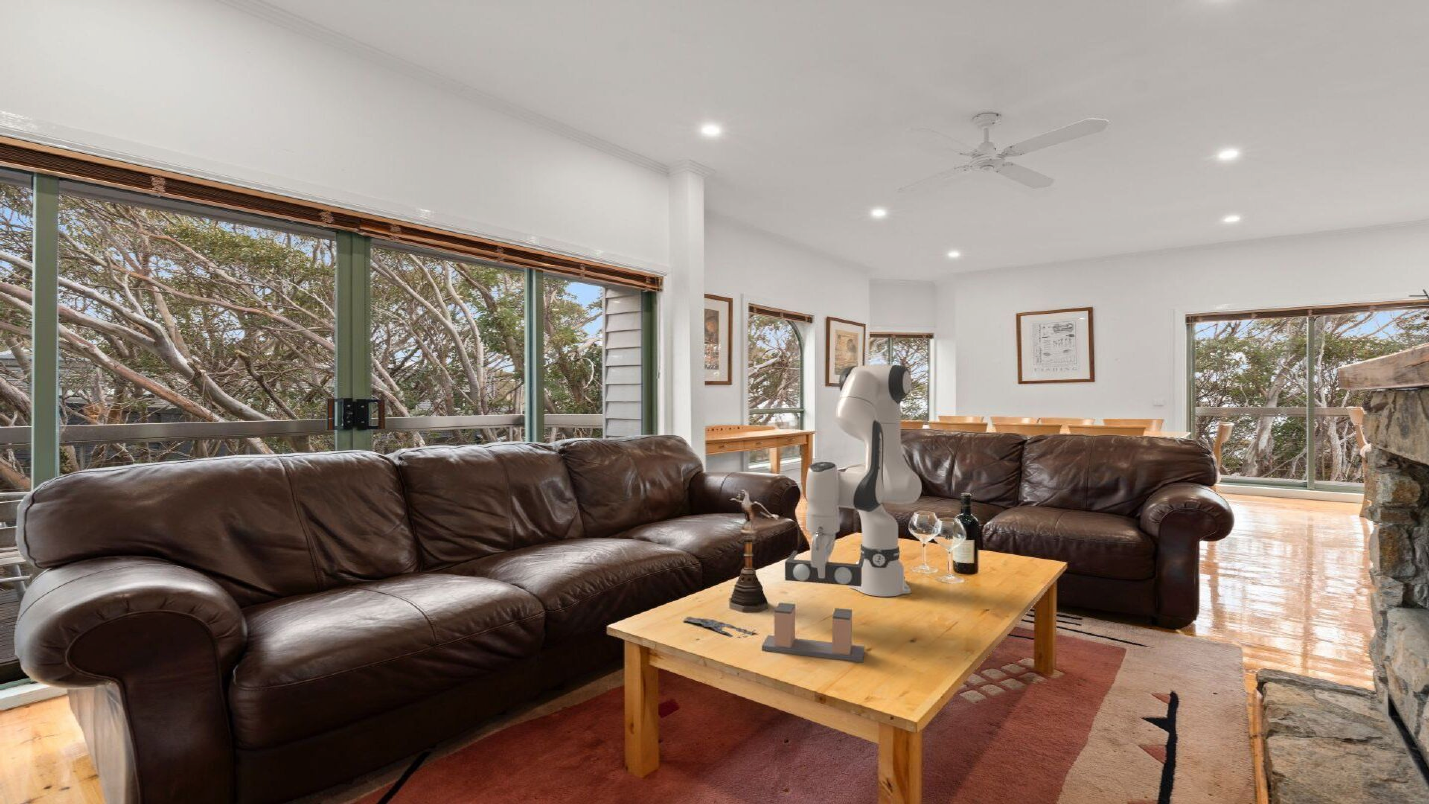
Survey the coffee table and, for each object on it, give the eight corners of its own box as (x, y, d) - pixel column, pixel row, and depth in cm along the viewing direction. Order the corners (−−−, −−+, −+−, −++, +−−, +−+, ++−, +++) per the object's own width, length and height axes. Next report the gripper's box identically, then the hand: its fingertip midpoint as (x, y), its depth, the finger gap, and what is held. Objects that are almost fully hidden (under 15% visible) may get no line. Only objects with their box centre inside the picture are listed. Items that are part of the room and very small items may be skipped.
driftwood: (679, 623, 180) (679, 615, 180) (696, 616, 185) (696, 609, 185) (739, 644, 166) (739, 635, 166) (756, 636, 171) (756, 628, 171)
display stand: (768, 639, 167) (768, 600, 166) (864, 651, 159) (864, 610, 159) (761, 650, 160) (761, 609, 160) (862, 662, 153) (862, 620, 153)
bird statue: (751, 592, 206) (751, 480, 205) (785, 601, 197) (785, 485, 196) (716, 605, 193) (716, 486, 192) (750, 615, 185) (751, 491, 184)
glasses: (793, 566, 189) (793, 549, 189) (864, 572, 183) (864, 554, 183) (784, 581, 176) (784, 562, 176) (860, 587, 170) (860, 568, 170)
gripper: (829, 533, 164) (830, 588, 164) (838, 516, 183) (839, 565, 184) (804, 532, 165) (805, 586, 166) (816, 515, 185) (816, 563, 186)
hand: (823, 575), depth 175 cm, fingers closed on glasses, 3 cm apart
